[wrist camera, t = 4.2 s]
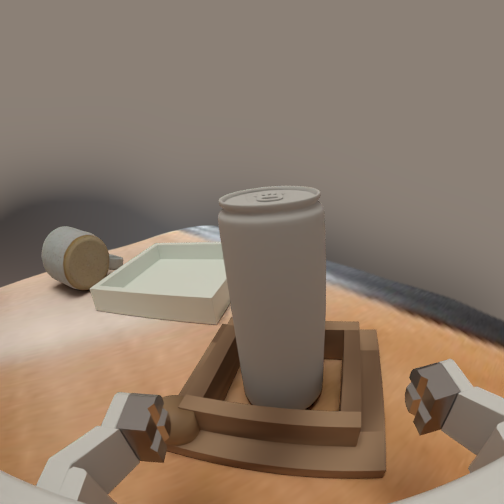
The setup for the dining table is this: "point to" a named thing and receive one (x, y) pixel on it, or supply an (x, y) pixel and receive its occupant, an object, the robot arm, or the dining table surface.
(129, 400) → the robot arm
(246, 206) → the beverage can
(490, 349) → the dining table surface
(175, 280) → the tray
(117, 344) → the dining table surface
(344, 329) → the walnut collar
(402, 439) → the dining table surface
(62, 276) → the ceramic mug
